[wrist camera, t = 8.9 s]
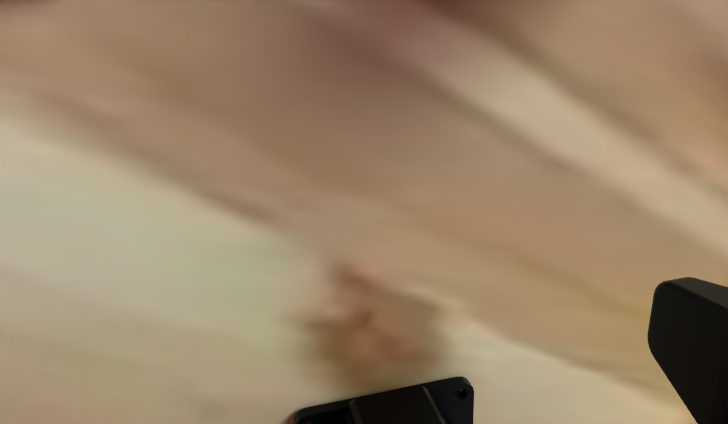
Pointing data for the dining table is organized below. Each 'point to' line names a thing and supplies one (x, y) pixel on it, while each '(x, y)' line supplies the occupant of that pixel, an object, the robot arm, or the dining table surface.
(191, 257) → the dining table surface
